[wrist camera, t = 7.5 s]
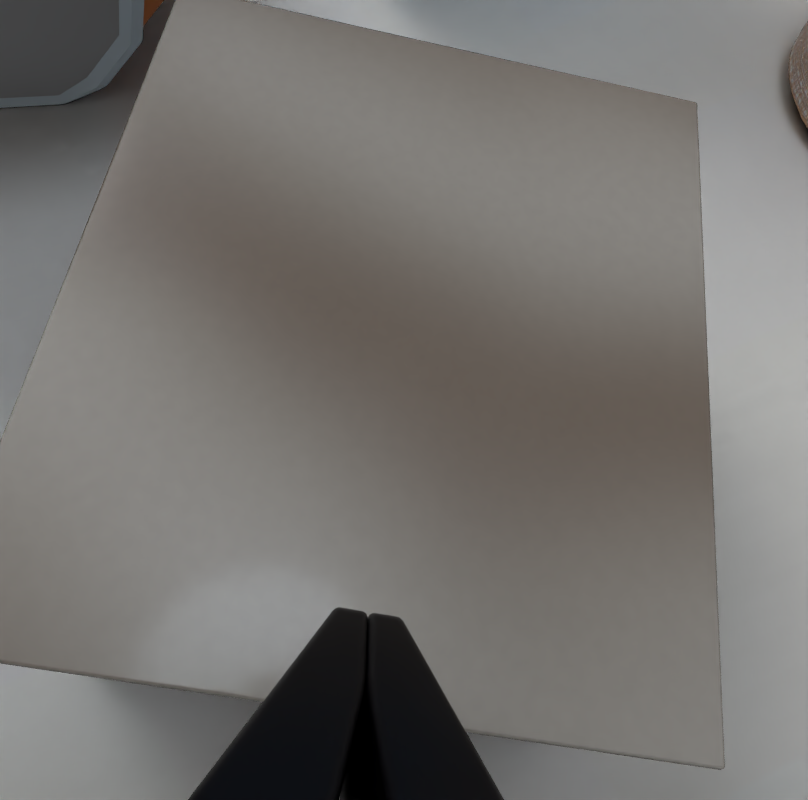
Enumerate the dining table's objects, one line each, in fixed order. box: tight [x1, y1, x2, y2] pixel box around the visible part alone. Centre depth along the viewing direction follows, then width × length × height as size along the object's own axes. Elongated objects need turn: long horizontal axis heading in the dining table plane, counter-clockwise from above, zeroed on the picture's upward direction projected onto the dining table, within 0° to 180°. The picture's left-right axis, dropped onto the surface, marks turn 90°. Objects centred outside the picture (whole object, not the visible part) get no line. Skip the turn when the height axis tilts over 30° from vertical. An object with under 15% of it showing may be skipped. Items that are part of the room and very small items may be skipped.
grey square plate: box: [0, 0, 725, 770], centre depth 13 cm, size 13×12×1 cm
